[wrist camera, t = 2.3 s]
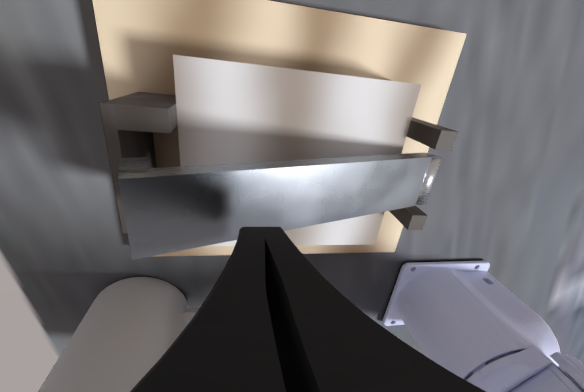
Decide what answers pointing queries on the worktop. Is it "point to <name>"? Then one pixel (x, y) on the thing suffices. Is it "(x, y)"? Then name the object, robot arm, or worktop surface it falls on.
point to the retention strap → (262, 196)
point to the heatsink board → (272, 43)
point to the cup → (121, 337)
